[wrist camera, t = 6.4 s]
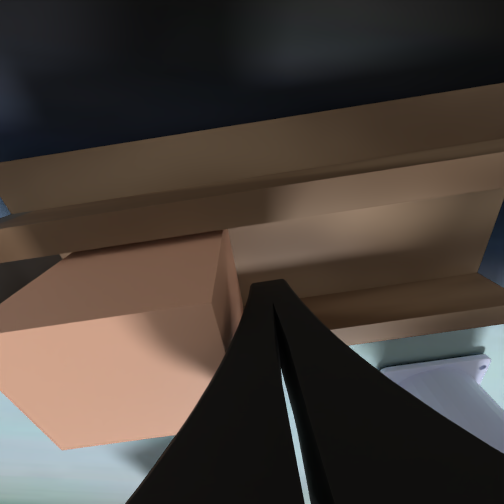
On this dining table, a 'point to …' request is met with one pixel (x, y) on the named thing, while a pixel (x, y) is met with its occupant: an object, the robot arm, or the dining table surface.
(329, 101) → the dining table surface
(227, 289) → the terracotta block
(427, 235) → the brown wooden tray
